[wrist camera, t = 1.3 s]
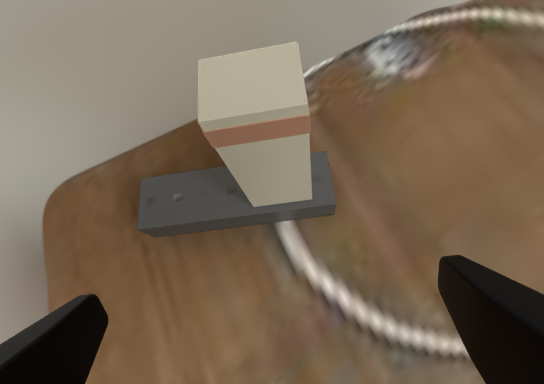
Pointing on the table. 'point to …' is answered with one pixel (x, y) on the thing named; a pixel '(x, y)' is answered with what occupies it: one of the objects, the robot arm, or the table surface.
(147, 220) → the gray rectangular bar
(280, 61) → the cream tall block
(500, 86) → the table surface
